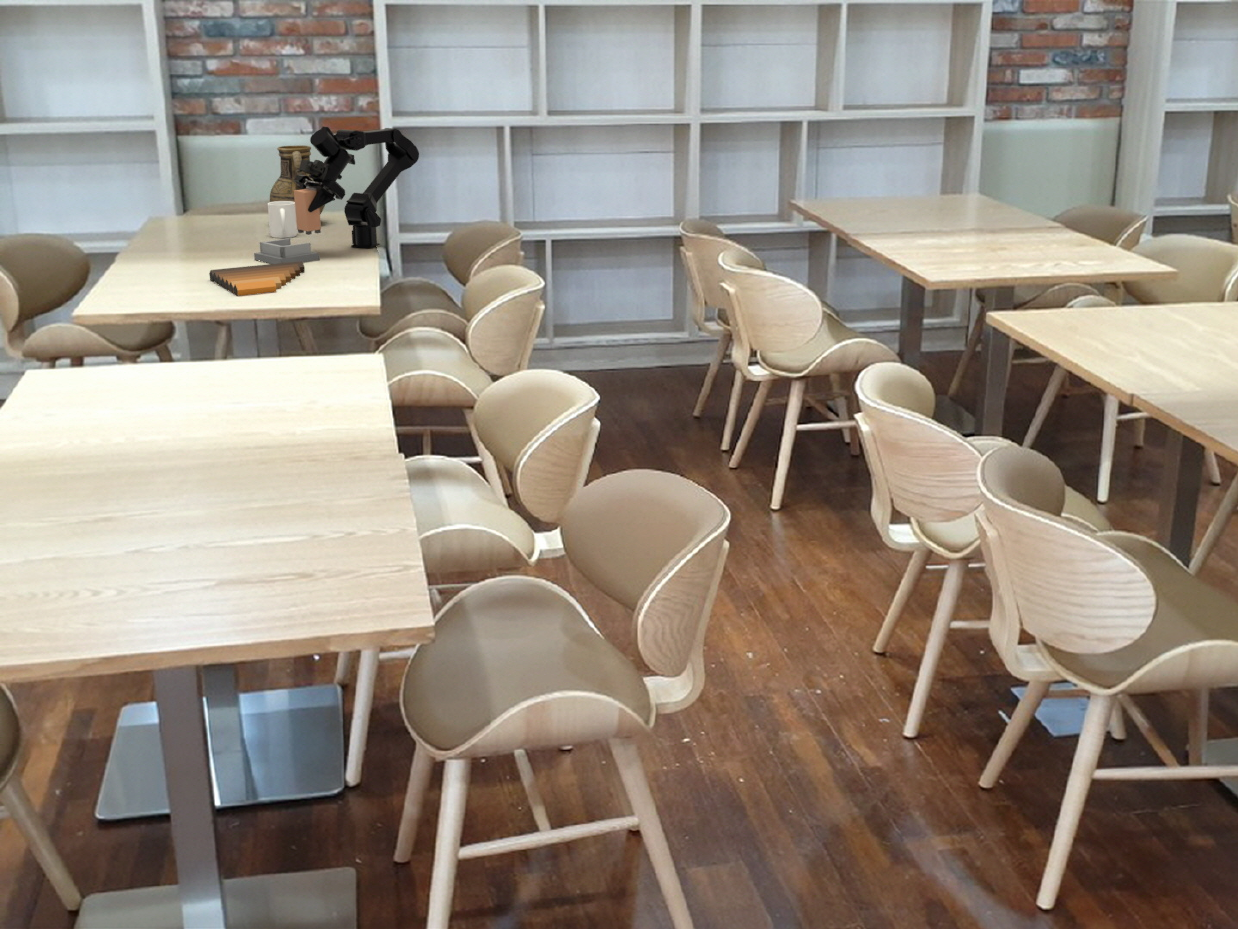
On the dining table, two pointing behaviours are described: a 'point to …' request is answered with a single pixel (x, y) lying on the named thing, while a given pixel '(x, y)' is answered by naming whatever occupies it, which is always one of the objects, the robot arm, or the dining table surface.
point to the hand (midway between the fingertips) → (303, 210)
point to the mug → (282, 219)
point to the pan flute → (256, 277)
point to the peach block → (306, 211)
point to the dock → (285, 252)
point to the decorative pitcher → (290, 172)
